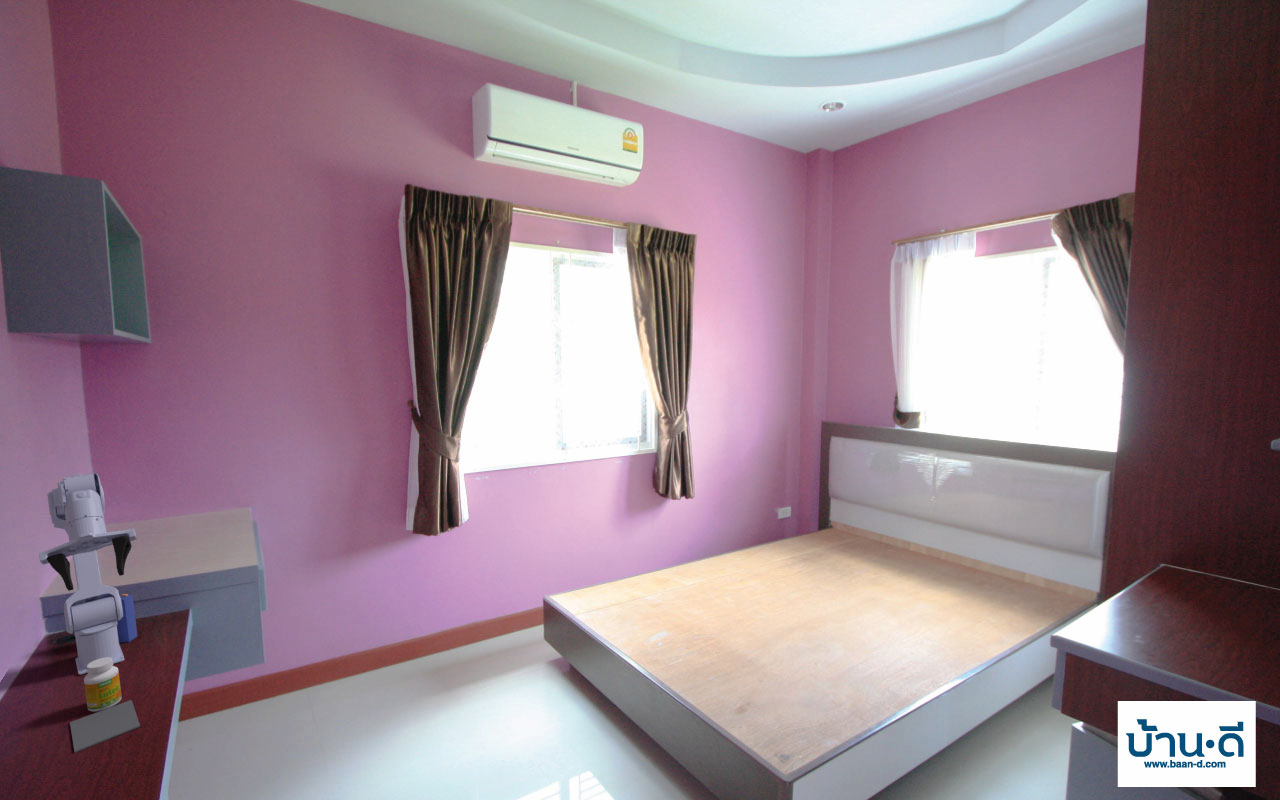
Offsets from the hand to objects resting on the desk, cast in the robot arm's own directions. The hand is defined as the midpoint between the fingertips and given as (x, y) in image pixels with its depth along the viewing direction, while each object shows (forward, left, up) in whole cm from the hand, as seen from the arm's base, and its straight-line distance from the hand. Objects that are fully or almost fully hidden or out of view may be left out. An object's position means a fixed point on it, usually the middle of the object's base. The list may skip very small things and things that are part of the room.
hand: (95, 580), depth 115 cm
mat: (+4, -2, -29) cm, 30 cm away
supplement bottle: (-5, -1, -30) cm, 30 cm away
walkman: (-37, +4, -30) cm, 48 cm away
